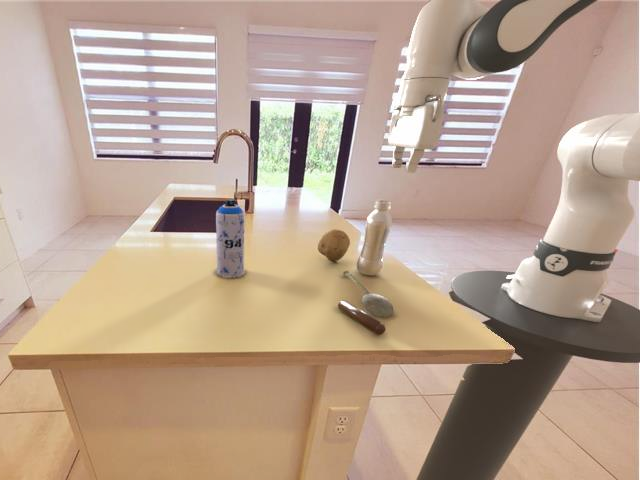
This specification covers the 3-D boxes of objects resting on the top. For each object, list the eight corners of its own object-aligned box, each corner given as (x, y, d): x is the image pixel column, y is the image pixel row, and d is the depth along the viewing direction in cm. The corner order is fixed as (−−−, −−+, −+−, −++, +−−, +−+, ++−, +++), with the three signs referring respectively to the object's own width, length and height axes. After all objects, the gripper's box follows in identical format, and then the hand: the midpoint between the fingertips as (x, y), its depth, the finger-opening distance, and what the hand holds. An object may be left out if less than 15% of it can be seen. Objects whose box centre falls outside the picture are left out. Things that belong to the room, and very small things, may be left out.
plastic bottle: (367, 267, 93) (382, 198, 83) (385, 276, 87) (403, 202, 78) (350, 271, 90) (364, 199, 81) (368, 280, 85) (384, 204, 76)
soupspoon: (368, 320, 68) (396, 320, 68) (372, 307, 66) (401, 307, 67) (334, 275, 87) (356, 276, 87) (336, 264, 85) (359, 265, 86)
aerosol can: (219, 279, 84) (218, 203, 75) (214, 268, 91) (212, 197, 82) (247, 276, 86) (249, 201, 77) (240, 265, 93) (241, 196, 83)
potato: (315, 264, 94) (319, 232, 90) (316, 254, 102) (320, 224, 97) (346, 267, 92) (353, 234, 88) (345, 257, 100) (350, 226, 95)
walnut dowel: (343, 306, 72) (344, 297, 71) (386, 335, 62) (389, 324, 61) (334, 309, 71) (336, 299, 70) (378, 338, 61) (380, 327, 60)
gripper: (462, 92, 55) (436, 176, 62) (418, 102, 73) (402, 166, 80) (424, 92, 56) (403, 174, 62) (390, 101, 74) (376, 165, 80)
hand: (402, 169), depth 71 cm, fingers open, 8 cm apart
